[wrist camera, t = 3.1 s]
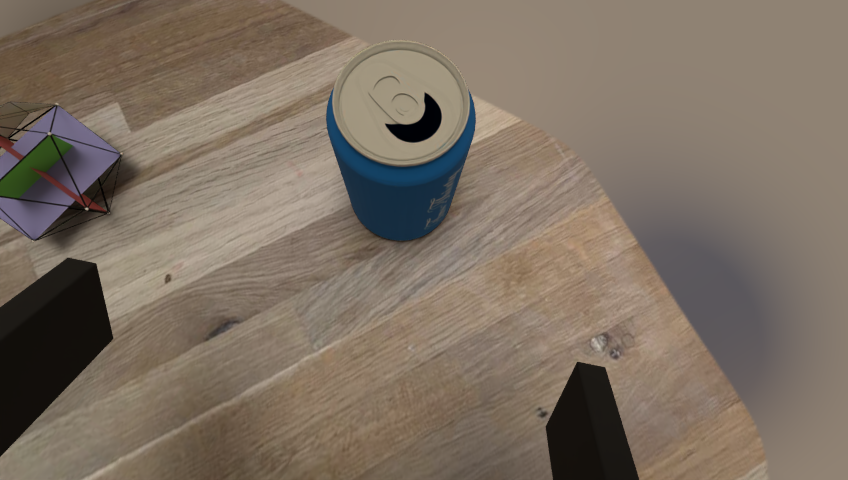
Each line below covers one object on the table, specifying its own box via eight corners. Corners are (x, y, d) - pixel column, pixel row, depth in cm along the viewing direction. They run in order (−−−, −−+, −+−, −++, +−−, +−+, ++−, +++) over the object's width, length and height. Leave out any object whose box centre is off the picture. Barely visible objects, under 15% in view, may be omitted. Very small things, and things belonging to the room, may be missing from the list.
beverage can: (396, 264, 30) (394, 207, 18) (330, 190, 31) (287, 92, 19) (471, 199, 31) (513, 108, 19) (405, 130, 32) (408, 3, 20)
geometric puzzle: (167, 187, 28) (27, 82, 22) (79, 279, 27) (-95, 190, 21) (135, 160, 33) (13, 68, 27) (59, 236, 31) (-87, 155, 26)
